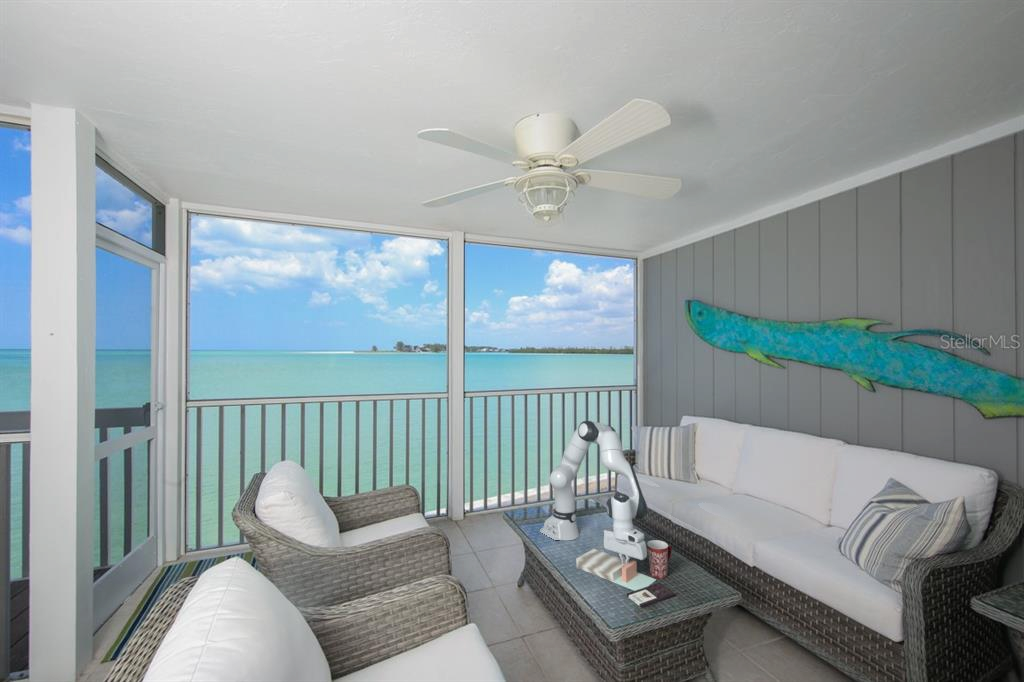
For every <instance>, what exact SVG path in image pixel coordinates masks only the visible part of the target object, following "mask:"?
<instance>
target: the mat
mask: <svg viewBox="0 0 1024 682" xmlns="http://www.w3.org/2000/svg"><path fill="white" fill-rule="evenodd" d="M656 581H657V579H655V577H654V578H653V577H650V576H648V575H646V574H643V573H640V572H638V571H637V576H635V577H634V578H633V579H631V580H630V581H628V582H627V583H625V582H622V576H620V577H619V578H618V579H616V580H615V581H610V582H612V583H615V584H617V585H619V586H621V587H624V588H626V589H630V590H632V591H636V590H639V589H642V588H645V587H648V586H651V585H653V584H654V583H655V582H656Z"/></svg>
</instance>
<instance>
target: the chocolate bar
mask: <svg viewBox="0 0 1024 682" xmlns="http://www.w3.org/2000/svg"><path fill="white" fill-rule="evenodd" d="M676 595H677V593H675V592H674V591H673V590H671V589H670V588H668V587H667V586H666V585H664V584H663V583H662V582H657V583H653V584H651V585H650V586H648V587H645V588H642V589H639V590H636V591H634V590H632V591H630V592H626V597H628V599H630V600H631V601H632V602H634V603H635V604H636V605H637V606H639V607H640V608H641V609H643V608H646V607H650V606H652V605H655V604H658V603H660V602H663V601H665V600H668V599H672V598H674V597H676Z"/></svg>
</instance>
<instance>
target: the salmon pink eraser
mask: <svg viewBox="0 0 1024 682" xmlns="http://www.w3.org/2000/svg"><path fill="white" fill-rule="evenodd" d="M637 563H638V562H637V561H636V560H630V561H629V564H628V565H625V566H624V567H622V582H625V583H627V582H628V581H630V580H631V579H633V578H634V577H635V576H637V572H638V571H637V570H638V569H637V567H638V566H637Z"/></svg>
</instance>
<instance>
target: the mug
mask: <svg viewBox="0 0 1024 682" xmlns="http://www.w3.org/2000/svg"><path fill="white" fill-rule="evenodd" d="M646 547H647V555H648V562H649V573H650V575H651V576H652V578H653V577H654V578H657V579H664V578H667V577H668V565H669V562H670V559H671V557H672V556H671V555H672V552H673V551H672V546H671V545H670V544H668V543H667V542H665V541H663V540H659V539H658V540H657V539H652V540H648V541H647V542H646Z"/></svg>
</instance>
